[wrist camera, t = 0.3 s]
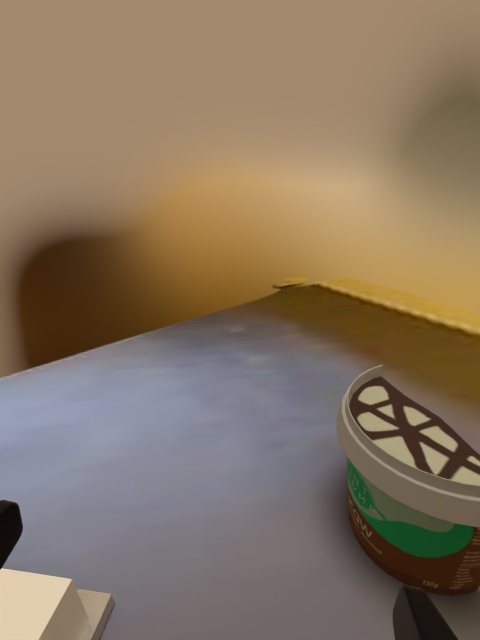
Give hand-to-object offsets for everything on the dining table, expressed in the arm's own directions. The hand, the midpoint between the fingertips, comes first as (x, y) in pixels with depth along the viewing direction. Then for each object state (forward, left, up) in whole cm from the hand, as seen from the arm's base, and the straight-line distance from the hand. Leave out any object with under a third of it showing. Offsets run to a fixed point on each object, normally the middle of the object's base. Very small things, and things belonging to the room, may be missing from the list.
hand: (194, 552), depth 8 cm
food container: (+13, -8, -17) cm, 22 cm away
